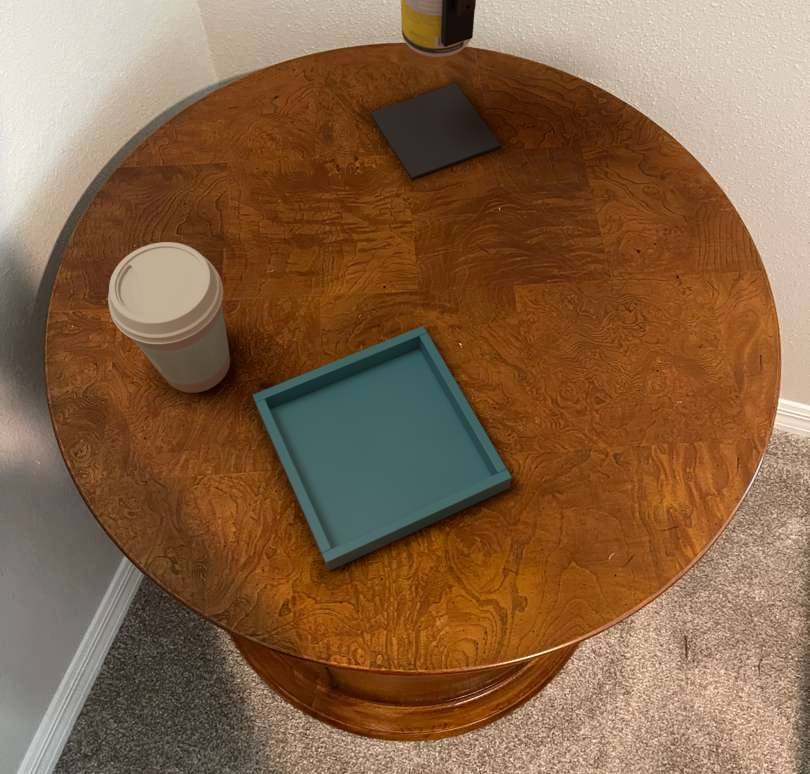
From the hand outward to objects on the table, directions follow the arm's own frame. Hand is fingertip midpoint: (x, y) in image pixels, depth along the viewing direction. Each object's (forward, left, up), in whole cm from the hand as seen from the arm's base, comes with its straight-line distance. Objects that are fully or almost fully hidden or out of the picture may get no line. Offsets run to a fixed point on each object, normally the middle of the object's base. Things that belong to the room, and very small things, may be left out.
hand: (438, 15), depth 73 cm
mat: (0, 0, -14) cm, 14 cm away
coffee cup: (-16, +31, -14) cm, 38 cm away
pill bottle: (0, 0, -2) cm, 2 cm away
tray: (-30, +20, -14) cm, 39 cm away
